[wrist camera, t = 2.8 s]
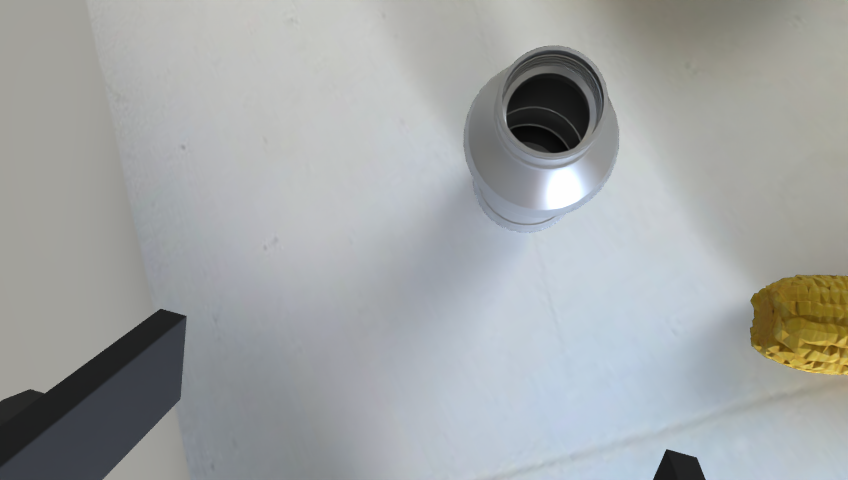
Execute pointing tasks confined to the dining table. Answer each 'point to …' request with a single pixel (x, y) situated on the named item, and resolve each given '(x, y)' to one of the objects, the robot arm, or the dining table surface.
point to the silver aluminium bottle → (540, 139)
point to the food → (803, 323)
